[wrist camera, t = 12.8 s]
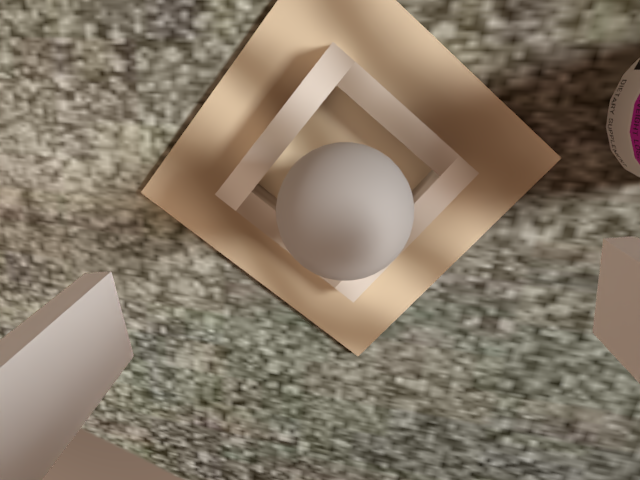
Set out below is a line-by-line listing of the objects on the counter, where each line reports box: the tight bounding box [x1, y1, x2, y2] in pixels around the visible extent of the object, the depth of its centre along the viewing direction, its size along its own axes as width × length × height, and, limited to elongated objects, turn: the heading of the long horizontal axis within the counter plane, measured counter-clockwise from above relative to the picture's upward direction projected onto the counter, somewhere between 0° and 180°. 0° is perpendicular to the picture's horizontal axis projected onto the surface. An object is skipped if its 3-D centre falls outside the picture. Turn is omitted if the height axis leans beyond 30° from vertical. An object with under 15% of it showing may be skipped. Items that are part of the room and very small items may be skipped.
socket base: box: [141, 0, 561, 356], centre depth 28 cm, size 18×18×3 cm
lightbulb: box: [276, 142, 414, 281], centre depth 24 cm, size 6×6×11 cm
